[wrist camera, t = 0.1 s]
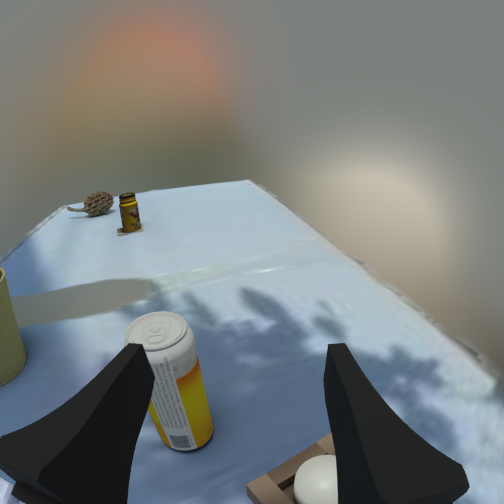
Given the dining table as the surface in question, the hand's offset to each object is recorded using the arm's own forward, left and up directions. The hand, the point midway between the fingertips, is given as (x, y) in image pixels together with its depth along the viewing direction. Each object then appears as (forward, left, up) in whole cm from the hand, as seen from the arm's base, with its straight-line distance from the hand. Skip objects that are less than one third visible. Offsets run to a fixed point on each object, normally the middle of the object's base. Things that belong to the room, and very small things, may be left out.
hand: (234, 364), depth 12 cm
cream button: (+3, -6, -19) cm, 20 cm away
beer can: (+11, +8, -22) cm, 26 cm away
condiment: (+82, +44, -22) cm, 96 cm away
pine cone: (+103, +72, -22) cm, 128 cm away
